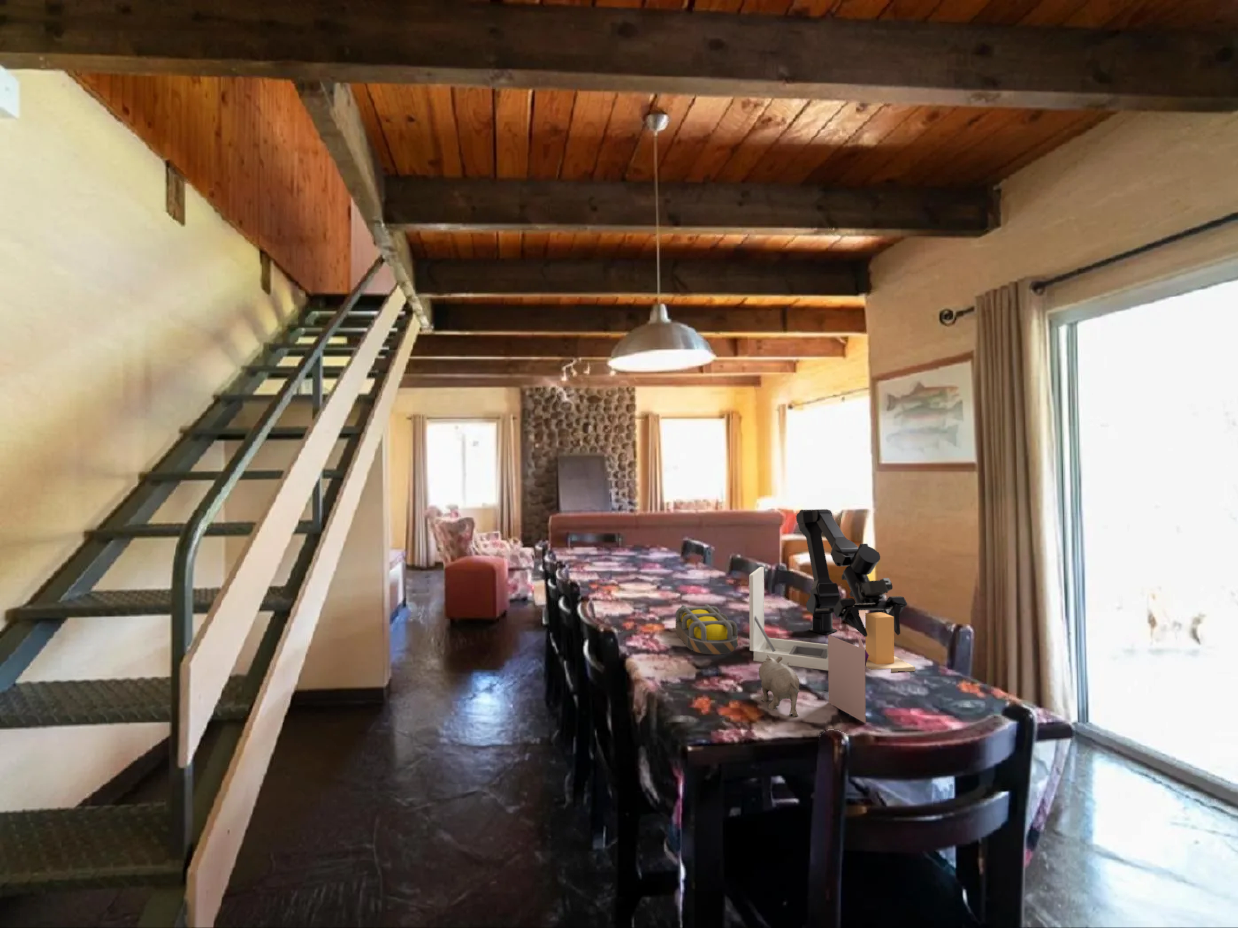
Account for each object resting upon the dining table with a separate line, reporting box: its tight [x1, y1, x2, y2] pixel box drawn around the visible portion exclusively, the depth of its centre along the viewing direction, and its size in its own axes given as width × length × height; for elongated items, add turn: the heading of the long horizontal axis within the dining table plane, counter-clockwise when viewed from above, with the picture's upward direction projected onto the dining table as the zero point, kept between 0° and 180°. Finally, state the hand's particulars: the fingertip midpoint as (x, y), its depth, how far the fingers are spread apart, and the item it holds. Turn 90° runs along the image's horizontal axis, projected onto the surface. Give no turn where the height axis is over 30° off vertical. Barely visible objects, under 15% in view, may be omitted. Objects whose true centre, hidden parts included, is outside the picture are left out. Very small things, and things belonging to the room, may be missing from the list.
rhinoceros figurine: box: [758, 655, 800, 718], centre depth 133 cm, size 8×14×15 cm
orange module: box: [864, 611, 895, 664], centre depth 159 cm, size 5×5×12 cm
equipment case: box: [748, 566, 828, 671], centre depth 162 cm, size 14×21×24 cm, turn 65°
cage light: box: [675, 603, 739, 655], centre depth 183 cm, size 15×8×30 cm
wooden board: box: [865, 655, 916, 673], centre depth 159 cm, size 12×12×1 cm
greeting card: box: [827, 634, 869, 724], centre depth 129 cm, size 11×7×15 cm, turn 164°
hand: (882, 635), depth 157 cm, fingers open, 9 cm apart
